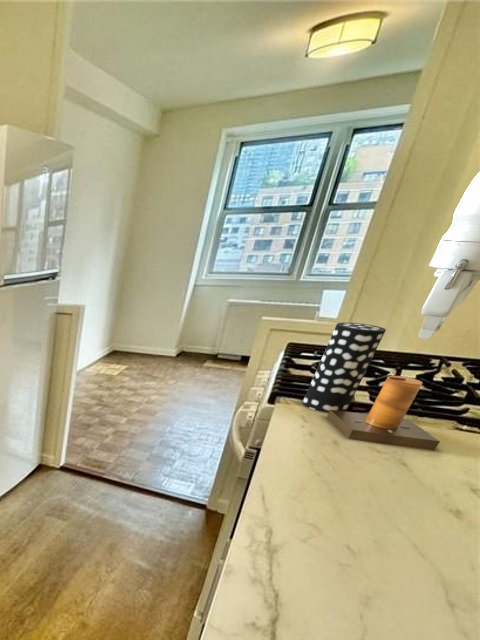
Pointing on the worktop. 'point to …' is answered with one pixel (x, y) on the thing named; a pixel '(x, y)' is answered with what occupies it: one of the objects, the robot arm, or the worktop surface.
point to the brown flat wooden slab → (381, 431)
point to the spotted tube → (343, 366)
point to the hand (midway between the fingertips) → (428, 334)
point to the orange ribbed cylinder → (393, 402)
